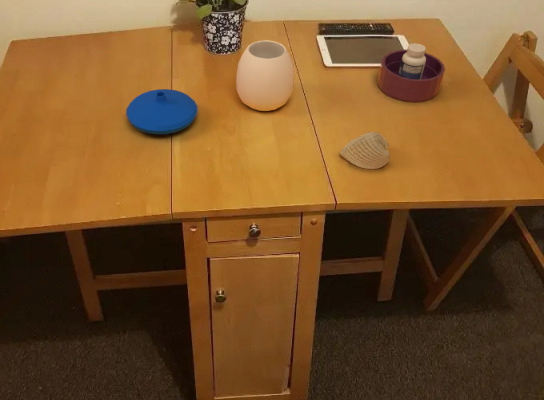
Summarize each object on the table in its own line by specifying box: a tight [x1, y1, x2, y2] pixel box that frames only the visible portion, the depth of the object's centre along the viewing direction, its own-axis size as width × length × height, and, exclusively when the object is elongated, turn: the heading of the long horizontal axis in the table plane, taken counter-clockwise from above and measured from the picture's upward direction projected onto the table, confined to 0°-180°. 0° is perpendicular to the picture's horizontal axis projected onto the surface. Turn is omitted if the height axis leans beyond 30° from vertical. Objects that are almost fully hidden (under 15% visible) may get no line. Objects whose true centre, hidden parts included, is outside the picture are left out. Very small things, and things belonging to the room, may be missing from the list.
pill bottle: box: [398, 42, 427, 80], centre depth 137 cm, size 5×5×10 cm
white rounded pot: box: [235, 39, 295, 112], centre depth 132 cm, size 13×13×14 cm
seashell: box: [339, 131, 391, 170], centre depth 119 cm, size 8×8×8 cm
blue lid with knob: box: [125, 88, 198, 135], centre depth 128 cm, size 16×16×7 cm
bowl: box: [377, 49, 446, 103], centre depth 139 cm, size 14×14×6 cm
